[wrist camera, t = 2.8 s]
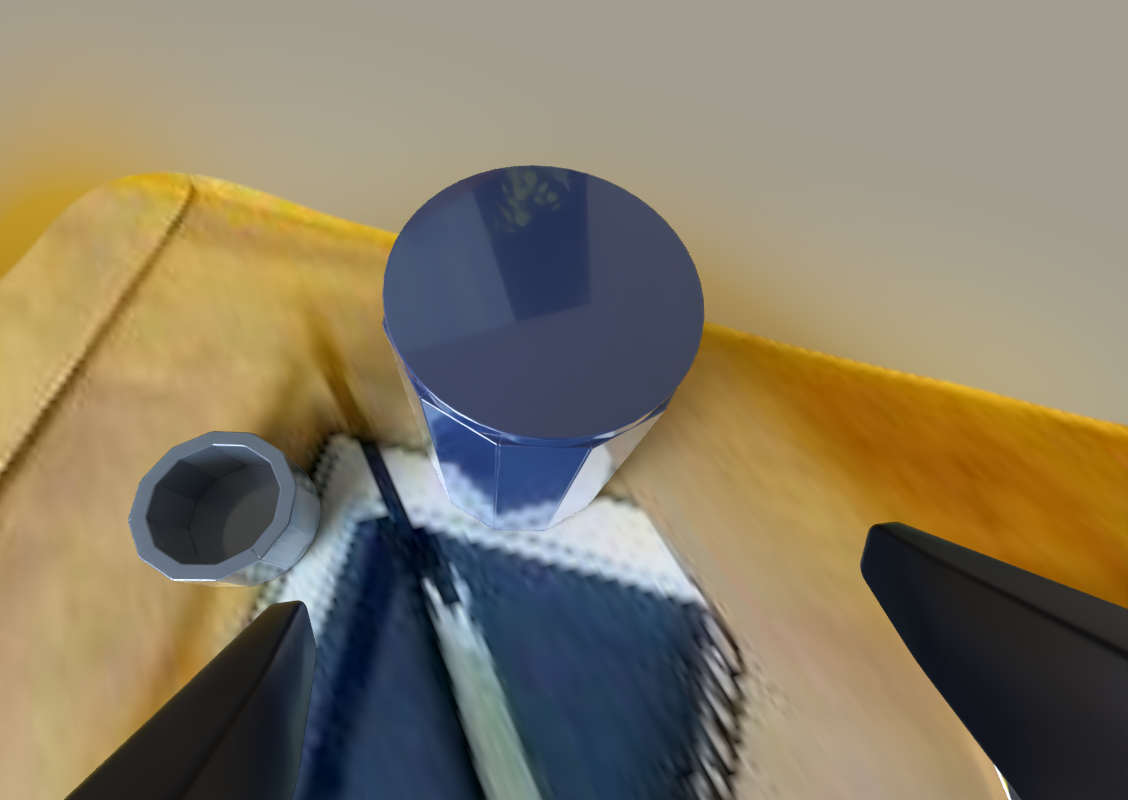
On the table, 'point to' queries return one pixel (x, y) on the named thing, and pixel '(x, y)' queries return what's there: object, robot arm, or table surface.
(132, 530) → the grey pot
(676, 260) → the blue grey cylinder
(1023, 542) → the table surface
